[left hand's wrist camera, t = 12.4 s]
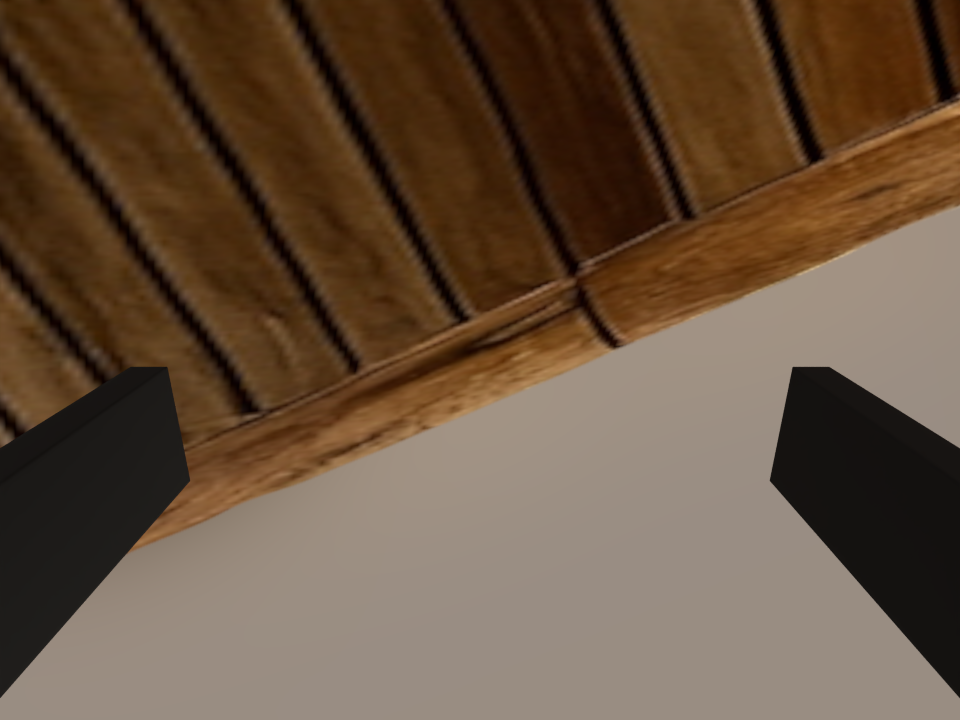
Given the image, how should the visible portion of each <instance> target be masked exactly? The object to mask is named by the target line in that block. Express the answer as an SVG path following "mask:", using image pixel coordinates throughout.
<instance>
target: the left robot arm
mask: <svg viewBox="0 0 960 720" xmlns="http://www.w3.org/2000/svg"><path fill="white" fill-rule="evenodd" d="M189 482H190V477H189V472H188V467H187V462H186V457H185V452H184V447H183V442H182V437H181V432H180V427H179V423H178V418H177V413H176V408H175V403H174V398H173V393H172V388H171V383H170V378H169V373H168V368H167V367H130V368H128V369H127V370H125V371H123V372H122V373H120V374H119V375H117V376H115V377H114V378H112V379H111V380H109V381H107V382H106V383H104V384H103V385H101V386H99V387H98V388H96V389H95V390H93V391H91V392H90V393H88V394H87V395H85V396H83V397H82V398H80V399H79V400H77V401H75V402H74V403H72V404H71V405H69V406H67V407H66V408H64V409H63V410H61V411H59V412H58V413H56V414H55V415H53V416H51V417H50V418H48V419H47V420H45V421H43V422H42V423H40V424H38V425H37V426H35V427H34V428H32V429H30V430H29V431H27V432H26V433H24V434H22V435H21V436H19V437H18V438H16V439H14V440H13V441H11V442H10V443H8V444H6V445H5V446H3V447H2V448H0V698H1V697H2V695H3V694H4V693H5V692H6V691H7V690H8V689H9V687H10V686H11V685H12V684H13V683H14V682H15V681H16V679H17V678H18V677H19V676H20V675H21V674H22V673H23V671H24V670H25V669H26V668H27V667H28V666H29V665H30V663H31V662H32V661H33V660H34V659H35V658H36V656H37V655H38V654H39V653H40V652H41V651H42V650H43V649H44V647H45V646H46V645H47V644H48V643H49V642H50V640H51V639H52V638H53V637H54V636H55V635H56V634H57V632H58V631H59V630H60V629H61V628H62V627H63V626H64V625H65V623H66V622H67V621H68V620H69V619H70V618H71V616H72V615H73V614H74V613H75V612H76V611H77V610H78V608H79V607H80V606H81V605H82V604H83V603H84V602H85V600H86V599H87V598H88V597H89V596H90V595H91V594H92V592H93V591H94V590H95V589H96V588H97V587H98V586H99V584H100V583H101V582H102V581H103V580H104V579H105V578H106V576H107V575H108V574H109V573H110V572H111V571H112V570H113V568H114V567H115V566H116V565H117V564H118V563H119V562H120V560H121V559H122V558H123V557H124V556H125V555H126V554H127V552H128V551H129V550H130V549H131V548H132V547H133V546H134V544H135V543H136V542H137V541H138V540H139V539H140V538H141V536H142V535H143V534H144V533H145V532H146V531H147V530H148V528H149V527H150V526H151V525H152V524H153V523H154V522H155V520H156V519H157V518H158V517H159V516H160V515H161V514H162V512H163V511H164V510H165V509H166V508H167V507H168V506H169V504H170V503H171V502H172V501H173V500H174V499H175V498H176V496H177V495H178V494H179V493H180V492H181V491H182V490H183V488H184V487H185V486H186V485H187V484H188V483H189ZM770 482H771V483H772V484H773V485H774V486H775V487H776V488H777V490H778V491H779V492H780V493H781V494H782V495H783V496H784V497H785V499H786V500H787V501H788V502H789V503H790V504H791V506H792V507H793V508H794V509H795V510H796V511H797V512H798V514H799V515H800V516H801V517H802V518H803V519H804V520H805V522H806V523H807V524H808V525H809V526H810V527H811V528H812V530H813V531H814V532H815V533H816V534H817V535H818V536H819V538H820V539H821V540H822V541H823V542H824V543H825V544H826V545H827V547H828V548H829V549H830V550H831V551H832V552H833V554H834V555H835V556H836V557H837V558H838V559H839V560H840V562H841V563H842V564H843V565H844V566H845V567H846V568H847V570H848V571H849V572H850V573H851V574H852V575H853V576H854V578H855V579H856V580H857V581H858V582H859V583H860V584H861V586H862V587H863V588H864V589H865V590H866V591H867V592H868V594H869V595H870V596H871V597H872V598H873V599H874V600H875V602H876V603H877V604H878V605H879V606H880V607H881V608H882V610H883V611H884V612H885V613H886V614H887V615H888V617H889V618H890V619H891V620H892V621H893V622H894V623H895V625H896V626H897V627H898V628H899V629H900V630H901V631H902V633H903V634H904V635H905V636H906V637H907V638H908V639H909V640H910V642H911V643H912V644H913V645H914V646H915V647H916V649H917V650H918V651H919V652H920V653H921V654H922V655H923V657H924V658H925V659H926V660H927V661H928V662H929V663H930V665H931V666H932V667H933V668H934V669H935V670H936V671H937V673H938V674H939V675H940V676H941V677H942V678H943V679H944V681H945V682H946V683H947V684H948V685H949V686H950V687H951V689H952V690H953V691H954V692H955V693H956V694H957V695H958V697H959V698H960V448H958V447H957V446H955V445H954V444H952V443H950V442H949V441H947V440H945V439H944V438H942V437H941V436H939V435H938V434H936V433H934V432H933V431H931V430H930V429H928V428H926V427H925V426H923V425H921V424H920V423H918V422H917V421H915V420H913V419H912V418H910V417H909V416H907V415H905V414H904V413H902V412H901V411H899V410H897V409H896V408H894V407H893V406H891V405H889V404H888V403H886V402H885V401H883V400H881V399H880V398H878V397H877V396H875V395H873V394H872V393H870V392H869V391H867V390H865V389H864V388H862V387H861V386H859V385H857V384H856V383H854V382H852V381H851V380H849V379H848V378H846V377H844V376H843V375H841V374H840V373H838V372H836V371H835V370H833V369H832V368H830V367H793V368H792V373H791V378H790V383H789V388H788V393H787V398H786V403H785V408H784V413H783V418H782V423H781V427H780V432H779V437H778V442H777V447H776V452H775V457H774V462H773V467H772V472H771V477H770Z"/></svg>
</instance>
